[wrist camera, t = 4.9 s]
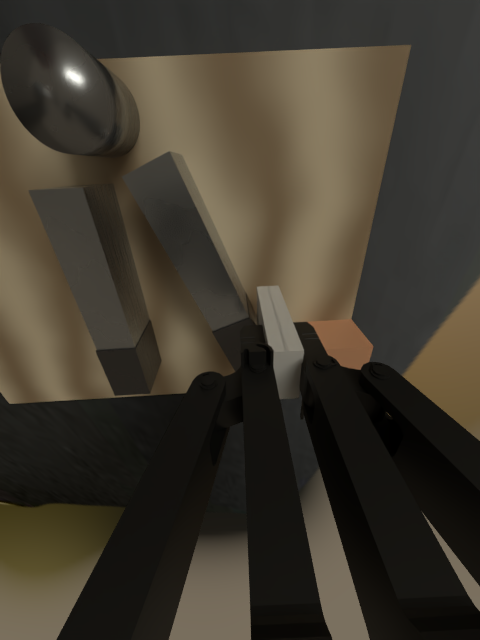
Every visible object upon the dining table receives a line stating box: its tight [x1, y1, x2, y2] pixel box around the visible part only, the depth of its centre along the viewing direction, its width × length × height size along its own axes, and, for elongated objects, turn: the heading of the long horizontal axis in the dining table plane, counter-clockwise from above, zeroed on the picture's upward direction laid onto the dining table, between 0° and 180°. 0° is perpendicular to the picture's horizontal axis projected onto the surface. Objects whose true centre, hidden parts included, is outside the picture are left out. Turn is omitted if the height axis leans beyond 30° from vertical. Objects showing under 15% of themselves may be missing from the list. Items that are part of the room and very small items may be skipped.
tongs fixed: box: [0, 23, 162, 396], centre depth 15 cm, size 18×5×4 cm, turn 3°
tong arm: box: [122, 151, 257, 372], centre depth 15 cm, size 13×2×4 cm, turn 23°
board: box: [0, 45, 411, 404], centre depth 18 cm, size 30×22×1 cm
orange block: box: [308, 319, 373, 370], centre depth 19 cm, size 4×3×4 cm
